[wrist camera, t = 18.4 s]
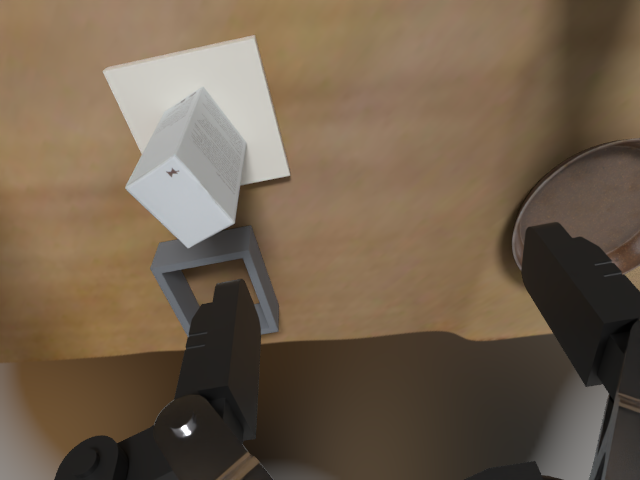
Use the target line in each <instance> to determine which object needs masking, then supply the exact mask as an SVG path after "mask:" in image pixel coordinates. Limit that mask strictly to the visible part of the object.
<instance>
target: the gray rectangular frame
mask: <svg viewBox="0 0 640 480" xmlns="http://www.w3.org/2000/svg"><path fill="white" fill-rule="evenodd" d="M240 258H243V260H244V263H245V265H246V268H247V270H248V273H249V276H250V278H251V281H252V284H253V286H254V289H255V291H256V294H257V297H258V299H259V302H260V303H259V304H254V306H255V309H256V311H257V314H258V317H259V321H260V327H261V334H267V333H272V332H278V323H279V304H278V301H277V299H276V296H275V293H274V290H273V287H272V284H271V281H270V278H269V275H268V273H267V270H266V267H265V264H264V261H263V258H262V255H261V252H260V250H259V247H258V244H257V241H256V238H255V235H254V232H253V229H252V226H251V225H250V226H245V227H240V228H234V229H229V230H224V231H220V232H218V233H216V234H214V235H213V236H211V237H209V238H207V239H205V240H203V241H201V242H199V243H197V244H195V245H194V246H192V247H190V248H187V247H186V246H185V245H184V244H183V243H182V242H181V241H180V240H179V239H177V240H172V241H167V242H161V243H159V245H158V248H157V251H156V254H155V257H154V259H153V262H152V265H151V268H150V269H151V271H152V273H153V274H154V276H155V278H156V280H157V282H158V283H159V285H160V287H161V289H162V291H163V293H164V294H165V296H166V298H167V300H168V302H169V303H170V305H171V307H172V309H173V311H174V312H175V314H176V316H177V318H178V320H179V321H180V323H181V325H182V327H183V329H184V330H185V332H186V334H187V336H188V337H189V335H188V334H189V330H190V325H191V320H192V318H193V317H194V315H195V314H196V312H197V311H198V309H199V308H200V307H199V305H198V303H197V301H196V299H195V297H194V295H193V293H192V291H191V289H190V287H189V285H188V283H187V281H186V279H185V277H184V275H183V273H182V271H181V270H182V269H187V268H192V267H198V266H203V265H208V264H214V263H219V262H224V261H230V260H235V259H240Z"/></svg>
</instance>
